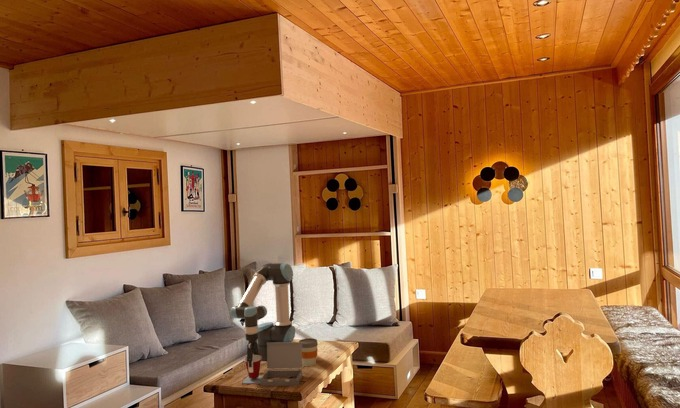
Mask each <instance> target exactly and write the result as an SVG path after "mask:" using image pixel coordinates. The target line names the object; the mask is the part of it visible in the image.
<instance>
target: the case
mask: <svg viewBox="0 0 680 408" xmlns="http://www.w3.org/2000/svg"><path fill="white" fill-rule="evenodd" d="M262 376H263V377H262V378H261V384H260V387H261V386H262V387H263V386H267V387H269V386H270V387H271V386H273V387H274V386H277V387H278V386H279V387H280V386H287V387H288V386H299V383H300V382H301V379H302V378H303V369H302V370H266V371H265V372H264V374H263V375H262ZM274 377H275V378H274ZM276 377H279V378H276ZM281 377H282V378H281ZM283 377H285V378H283ZM287 377H289V378H287ZM290 377H291V378H290ZM293 377H295V378H293Z"/></svg>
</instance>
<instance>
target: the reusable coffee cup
mask: <svg viewBox="0 0 680 408" xmlns="http://www.w3.org/2000/svg"><path fill="white" fill-rule="evenodd" d="M298 342H302V366H304V367H312V366H315V365H317V357H318V345H319V343H318V339H316V338H302V339H300V340H299V341H298Z"/></svg>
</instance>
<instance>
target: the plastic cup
mask: <svg viewBox="0 0 680 408" xmlns="http://www.w3.org/2000/svg"><path fill="white" fill-rule="evenodd" d="M261 358H262V357H261V356H260V355H253V358H252V361H253V372H249V371H248V362H247V356H245V357H244V358H243V361H244V363H245V365H246V367H245V368H246V371H247V374H248V375H247V376H249V378H251V379H255V378H258V377H259V376H260V369H261V363H262V360H261ZM249 360H250V359H249Z"/></svg>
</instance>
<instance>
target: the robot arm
mask: <svg viewBox="0 0 680 408" xmlns="http://www.w3.org/2000/svg"><path fill="white" fill-rule="evenodd" d="M293 276H294V270H293V268H292V266H291V264H290V263H284V262H283V263H282V262H281V263H279V262H278V263H277V262H274V263H272V262H271V263H269V262H268V263H265V264H263V265H261V266H260V267H259V268H258V269H257V270H256V271H255V272H254V273H253V276H252V280H251V282H250V283H249V285H248V287H247V289H246V291H245V292H244V294H243V296H242V297H241V300H240V301H239V303H238V304H237V305H234V306H232V307H231V308H230V316H231V317H232V318H233V319H240V320H241V319H244V331H245V340H246V341H248V343H247V345H246V349H247V350H246V351H247V352H246V357H247V362H248V371H249V372H253V361H252V358H253V355H260V356H261V357H262V358H261V361H267V343H277V342H294V339H295V337H296V327H295V326H294V325H293V323H292V321H291V320H290V302H289V301H290V300H289V285H290V283H291V282H292V280H293V279H294V278H293ZM268 281H269V282H271V281H272V284H273V286H274V289H275V290H274V291H275V311H276V312H275V313H276V322H269V321H268V322H263V323H260V324H258V321H259V320H261V319H263V318H265V317H266V316H267V314H268V309H267V307H266V306H264V305H258V306H254V305H253V306H252V304H253V303H254V301H255V299H256V298H257V296H258V294H259V292H260V291H261V290H262V287H263V286H264V285H266V283H267V282H268ZM249 359H250V360H249ZM248 371H247V372H248Z"/></svg>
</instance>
